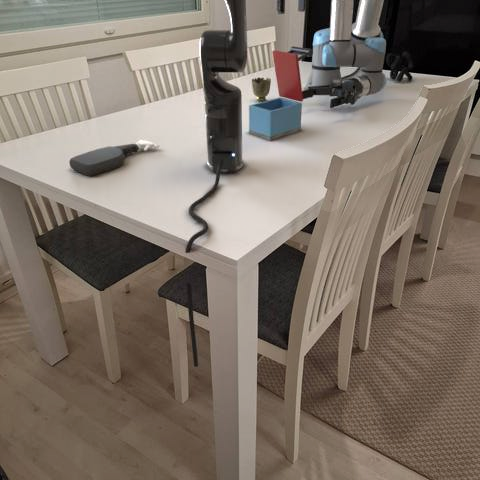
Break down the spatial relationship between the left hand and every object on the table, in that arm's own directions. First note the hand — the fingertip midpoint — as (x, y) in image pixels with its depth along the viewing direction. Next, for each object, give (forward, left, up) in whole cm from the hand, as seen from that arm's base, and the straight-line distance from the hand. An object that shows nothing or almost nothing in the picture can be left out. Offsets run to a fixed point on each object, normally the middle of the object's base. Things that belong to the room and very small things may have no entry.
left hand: (291, 12), depth 128 cm
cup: (+34, +9, -34) cm, 49 cm away
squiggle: (+68, -53, -34) cm, 93 cm away
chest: (-4, +4, -34) cm, 34 cm away
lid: (-1, +1, -18) cm, 18 cm away
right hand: (+9, -10, -27) cm, 30 cm away
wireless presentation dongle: (-28, +48, -34) cm, 65 cm away
